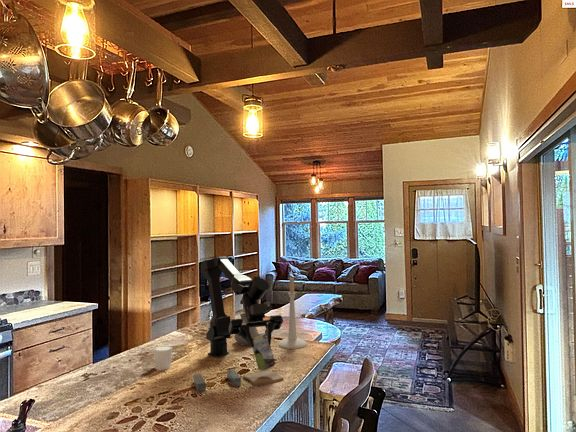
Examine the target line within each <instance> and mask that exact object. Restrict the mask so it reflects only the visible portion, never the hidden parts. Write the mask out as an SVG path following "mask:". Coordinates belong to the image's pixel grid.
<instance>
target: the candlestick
mask: <svg viewBox="0 0 576 432" xmlns="http://www.w3.org/2000/svg"><path fill="white" fill-rule="evenodd" d="M287 294H288V297H289V311H288V313H289V314H288V315H289V316H288V317H289V318H288V336H287V337H286V338H283V339H280V341H278V344H277V345H278V347H280V348H283V349H286V350H288V349H289V350H294V349H295V350H296V349H303V348H305V347H307V345H308V343H307V341H306V340H304V339H302V338H298V336H297V326H296V325H297V323H296V310H295V309H296V307H295V297H296V295H295V294H296V292H295V278H294V277H289V292H288V293H287Z"/></svg>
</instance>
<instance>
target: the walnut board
mask: <svg viewBox="0 0 576 432" xmlns="http://www.w3.org/2000/svg"><path fill="white" fill-rule="evenodd" d="M242 378H243V379H244V380H246V381H248V382H249V383H251V384H253V385H254V386H256V387H263V386H266V385H269V384H274V383H276V382H277V383H278V382H281V381H284V377H283V376H281V375H280V374H277V373H276V372H273V371H272V370H271V369H269V370H266V371H261V370H259V371H255V372H252V373H247V374H244V375H242Z"/></svg>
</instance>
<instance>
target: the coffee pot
mask: <svg viewBox="0 0 576 432" xmlns="http://www.w3.org/2000/svg"><path fill="white" fill-rule="evenodd" d="M239 316H240V319H242V320H243V321H246V322H247V319H246V317H245V312H244V313H240V314H239ZM257 328H258V327H252V328H249V330H250V334H251V337H253V336H256V335H258V334H260V332H259V331H258V329H257ZM234 340H235V342H237V343H238V345H242V346H250V345H249V344H248V342H247V341H246V340H245V339H244V338H243V337H242V336H238V334H234Z"/></svg>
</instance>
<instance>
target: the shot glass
mask: <svg viewBox="0 0 576 432" xmlns="http://www.w3.org/2000/svg"><path fill="white" fill-rule="evenodd" d="M172 357H173V347H172V346H170V345H163V346H158V347H154V348H153V358H154V369H155V370H157V371H164V370H167V369H170V368H171V367H172Z"/></svg>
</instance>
